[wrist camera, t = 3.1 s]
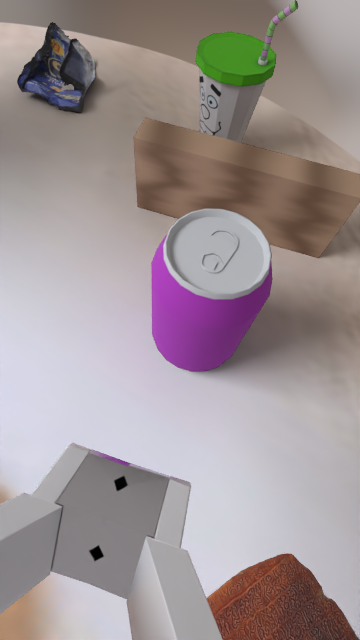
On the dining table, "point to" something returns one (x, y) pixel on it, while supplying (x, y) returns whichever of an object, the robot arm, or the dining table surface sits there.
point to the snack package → (59, 71)
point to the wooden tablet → (277, 605)
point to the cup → (234, 78)
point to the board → (243, 185)
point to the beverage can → (208, 287)
